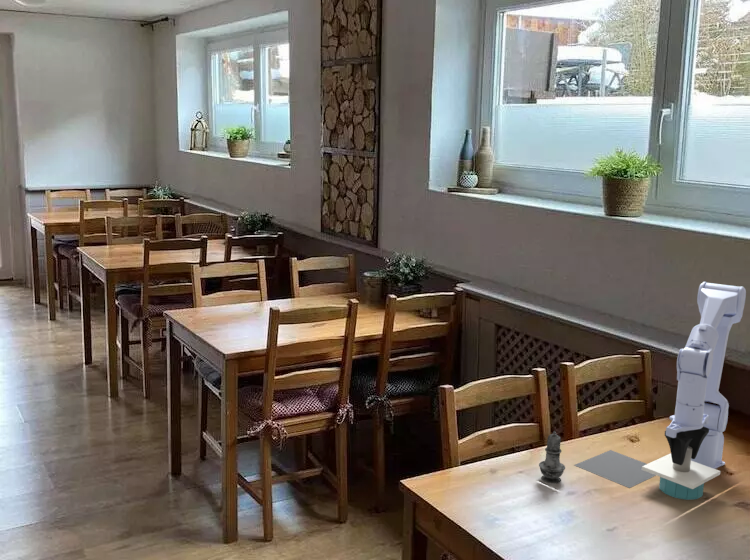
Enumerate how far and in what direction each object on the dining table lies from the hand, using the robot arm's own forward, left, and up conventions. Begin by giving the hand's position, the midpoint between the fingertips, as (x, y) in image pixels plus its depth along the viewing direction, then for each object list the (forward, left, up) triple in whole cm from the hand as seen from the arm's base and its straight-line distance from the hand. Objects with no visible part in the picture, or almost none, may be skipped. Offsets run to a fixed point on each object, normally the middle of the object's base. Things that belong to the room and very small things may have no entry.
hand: (683, 460), depth 176 cm
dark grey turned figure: (+19, -21, -8) cm, 29 cm away
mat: (+1, -15, -7) cm, 17 cm away
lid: (0, 0, -3) cm, 3 cm away
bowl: (0, 0, -7) cm, 7 cm away
